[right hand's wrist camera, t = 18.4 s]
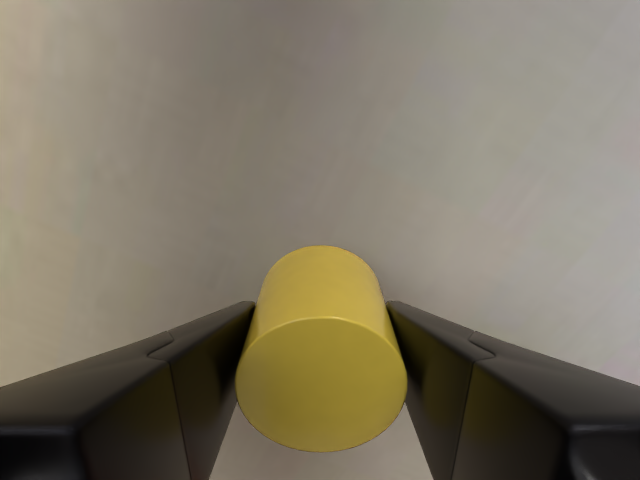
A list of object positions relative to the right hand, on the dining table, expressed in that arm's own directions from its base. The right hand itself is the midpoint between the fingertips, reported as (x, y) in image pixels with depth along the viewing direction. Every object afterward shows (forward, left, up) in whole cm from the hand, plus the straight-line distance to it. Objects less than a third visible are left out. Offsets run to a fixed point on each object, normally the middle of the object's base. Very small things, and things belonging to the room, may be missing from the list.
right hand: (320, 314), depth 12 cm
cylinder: (0, 0, -1) cm, 1 cm away
